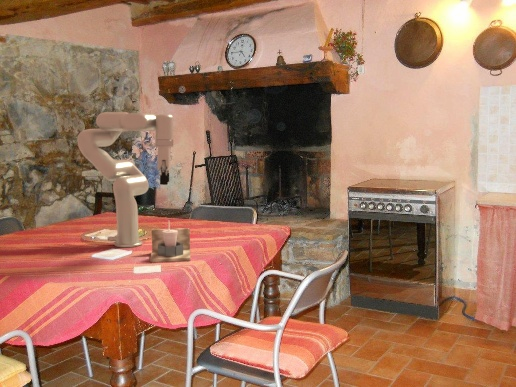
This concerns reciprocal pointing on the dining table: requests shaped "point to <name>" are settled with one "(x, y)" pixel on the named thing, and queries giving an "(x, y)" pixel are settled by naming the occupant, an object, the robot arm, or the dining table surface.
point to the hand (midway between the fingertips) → (164, 183)
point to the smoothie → (170, 236)
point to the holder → (174, 252)
